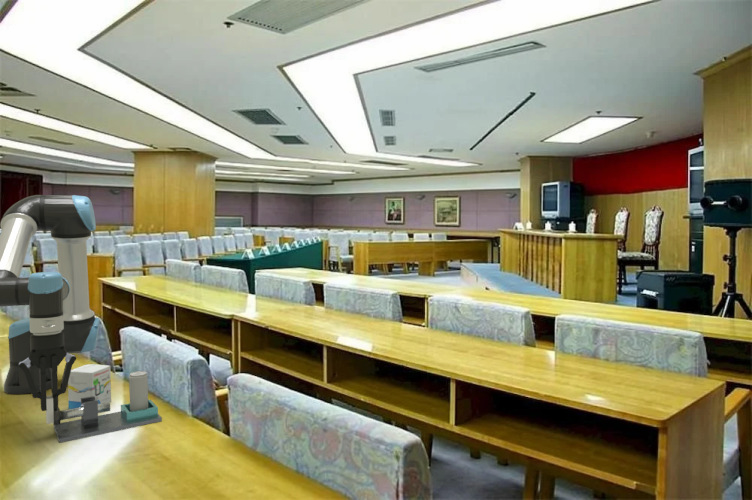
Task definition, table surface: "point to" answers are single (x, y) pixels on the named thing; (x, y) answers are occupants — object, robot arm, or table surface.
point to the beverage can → (138, 390)
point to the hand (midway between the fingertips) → (50, 421)
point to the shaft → (76, 412)
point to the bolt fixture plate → (104, 420)
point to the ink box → (89, 384)
